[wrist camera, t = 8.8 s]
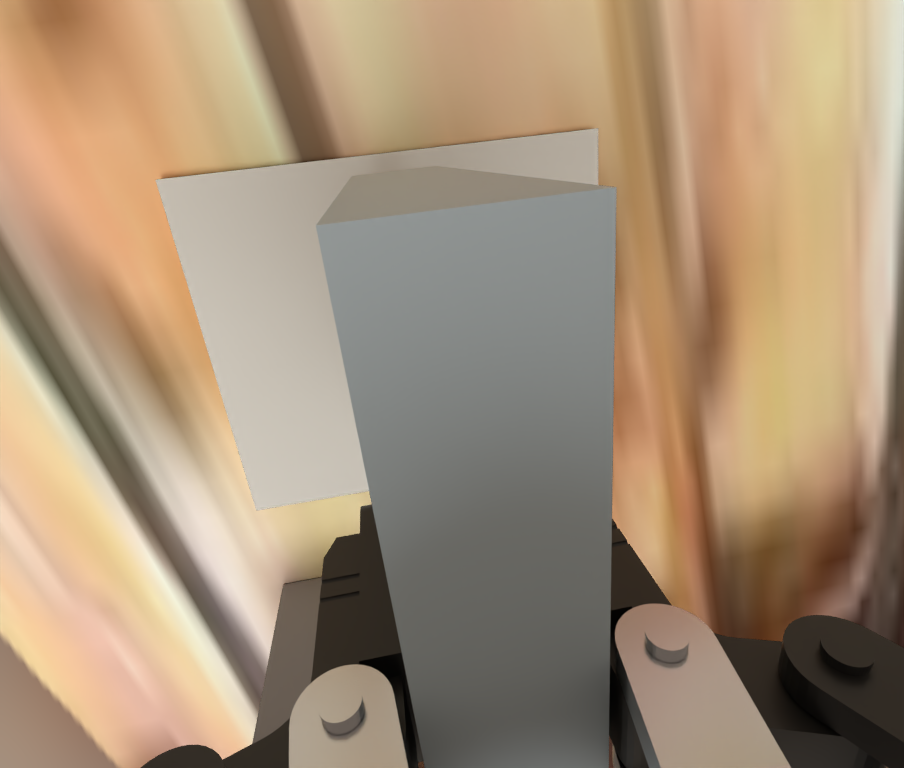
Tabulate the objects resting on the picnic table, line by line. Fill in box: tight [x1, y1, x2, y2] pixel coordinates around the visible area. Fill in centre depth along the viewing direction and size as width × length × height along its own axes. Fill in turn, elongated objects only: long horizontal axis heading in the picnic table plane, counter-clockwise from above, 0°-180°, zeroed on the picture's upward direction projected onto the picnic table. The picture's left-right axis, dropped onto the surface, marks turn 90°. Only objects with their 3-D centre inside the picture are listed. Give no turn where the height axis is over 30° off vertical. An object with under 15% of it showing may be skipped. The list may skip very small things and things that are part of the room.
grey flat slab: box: [316, 166, 616, 768], centre depth 12 cm, size 2×13×12 cm, turn 6°
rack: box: [252, 577, 322, 744], centre depth 27 cm, size 12×18×8 cm, turn 6°
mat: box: [156, 128, 598, 511], centre depth 23 cm, size 16×14×1 cm
